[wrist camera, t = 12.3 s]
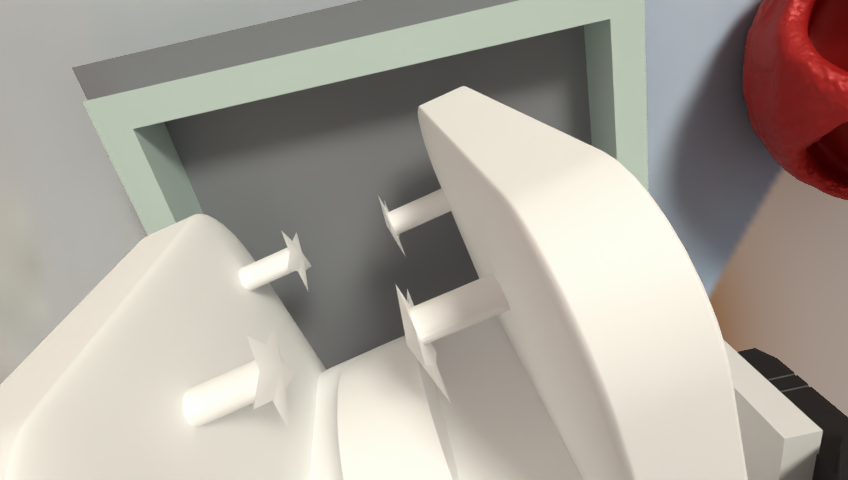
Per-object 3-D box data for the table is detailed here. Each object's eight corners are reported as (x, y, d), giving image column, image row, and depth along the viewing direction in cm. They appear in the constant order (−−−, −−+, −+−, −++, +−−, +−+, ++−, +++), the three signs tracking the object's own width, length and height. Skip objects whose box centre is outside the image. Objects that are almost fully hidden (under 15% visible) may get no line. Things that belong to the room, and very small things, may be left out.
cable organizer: (576, 405, 21) (806, 780, 11) (357, 499, 21) (368, 955, 11) (456, 73, 15) (733, 183, 4) (147, 214, 15) (-321, 647, 4)
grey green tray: (620, -57, 16) (679, -80, 13) (638, 427, 25) (675, 486, 22) (98, 64, 16) (27, 72, 13) (300, 502, 25) (288, 570, 22)
